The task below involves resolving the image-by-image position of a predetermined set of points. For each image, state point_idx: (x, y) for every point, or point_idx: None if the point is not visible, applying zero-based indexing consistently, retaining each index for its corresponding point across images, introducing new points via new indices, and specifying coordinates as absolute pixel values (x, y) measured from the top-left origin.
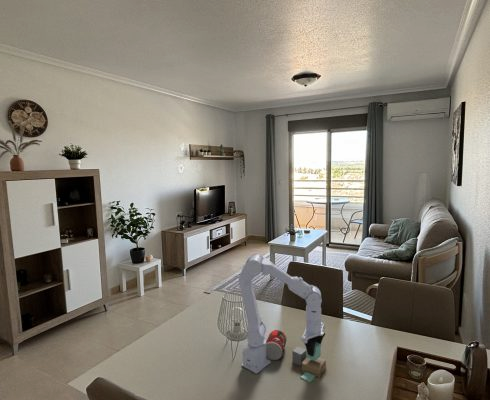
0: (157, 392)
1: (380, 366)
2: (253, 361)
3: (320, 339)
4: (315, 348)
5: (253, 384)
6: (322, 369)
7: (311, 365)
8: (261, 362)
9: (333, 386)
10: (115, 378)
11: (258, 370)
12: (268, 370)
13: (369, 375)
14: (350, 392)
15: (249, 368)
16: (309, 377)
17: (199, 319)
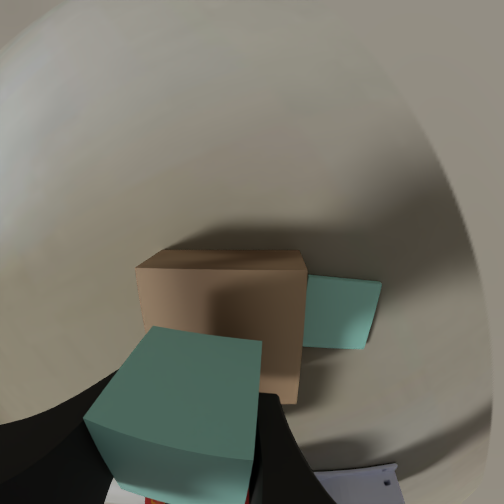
0: (476, 484)
1: (34, 35)
2: (403, 501)
3: (48, 463)
4: (253, 459)
5: (449, 434)
6: (225, 256)
7: (288, 343)
8: (363, 489)
9: (335, 125)
10: None
11: (384, 468)
12: (362, 454)
13: (106, 17)
14: (320, 26)
15: (385, 483)
16: (346, 303)
17: None
